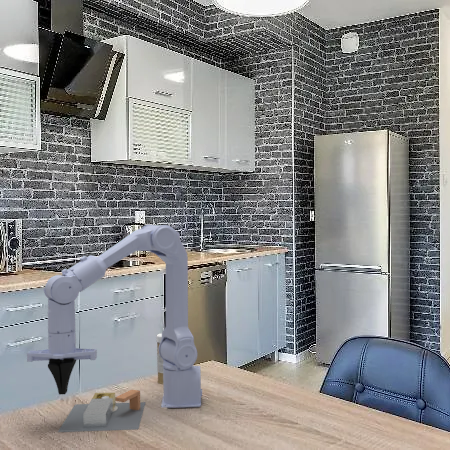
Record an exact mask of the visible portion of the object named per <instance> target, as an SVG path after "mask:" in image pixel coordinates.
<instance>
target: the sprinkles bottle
mask: <svg viewBox="0 0 450 450" xmlns="http://www.w3.org/2000/svg"><path fill="white" fill-rule="evenodd" d="M161 339H162V332H160V333H158V334H157V335H156V342H157V347H156V348H157V349H156V351H157V353H156V361H157V362H156V365H157V367H156V368H157V371H156V372H157V384H158V385H163V359H162V358H161V357H160V355H159V352H158V348H159V344H160V342H161Z"/></svg>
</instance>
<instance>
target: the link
mask: <svg viewBox="0 0 450 450" xmlns="http://www.w3.org/2000/svg"><path fill="white" fill-rule="evenodd" d="M103 396H109V398H104V399H102V397H103ZM115 397H116V392H95V393H94V395H93V396H92V398H91V400H90V401H89V403H88V404H89V405H88V407H87V408H86V410H85V412H84V414H83V419H84V428H90V427H106V426H107V424H108V421H109V419H110V417H111V414H112V412H113V410H114V407H115V405H116V403H117V401H115Z"/></svg>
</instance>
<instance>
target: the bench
mask: <svg viewBox="0 0 450 450" xmlns="http://www.w3.org/2000/svg"><path fill="white" fill-rule="evenodd" d="M104 398H109V396H103V397H102V399H104ZM88 405H89V403H76V404H74V406H73V407H72V409H71V410H70V411H69V413H68V414H67V416H66V418H65V419H64V422H63V423H62V424H61V426H60V428H59V429H58V431H57V433H73V432H74V433H76V432H79V433H80V432H102V431H105V432H106V431H107V432H109V431H130V430H131V431H134V430H140V429H139V428H140V425H141V421H142V418H143V413H144V409H145V406H146V401H143V402H142V401H140V409H139V410H134V409H130V403H129V402H116V405H115V407H114V410H113V412H112V414H111V417H110V419H109V421H108V424H107V426H106V427H90V428H84V419H83V414H84V412H85V410H86V408H87V407H88Z"/></svg>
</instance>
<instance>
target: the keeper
mask: <svg viewBox="0 0 450 450" xmlns="http://www.w3.org/2000/svg"><path fill="white" fill-rule="evenodd" d="M128 401H129V402H128ZM115 402H118V403H127V402H128V403H130V409H134V410H139V409H140V402H141V390H137V389H130V390H127V391H125V392H123V393H121V394H120V395H117V396H115Z"/></svg>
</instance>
